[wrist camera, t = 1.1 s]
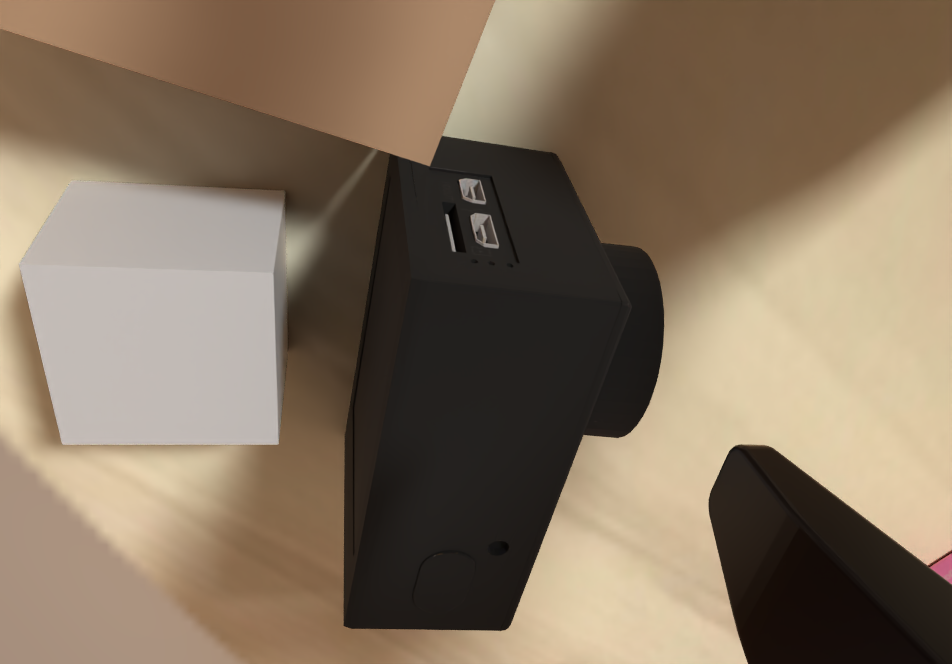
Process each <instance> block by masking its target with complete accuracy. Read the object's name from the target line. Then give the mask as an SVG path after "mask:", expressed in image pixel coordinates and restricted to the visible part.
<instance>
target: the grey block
mask: <svg viewBox="0 0 952 664" xmlns="http://www.w3.org/2000/svg"><path fill="white" fill-rule="evenodd" d="M19 267H20V271H21V275H22V279H23V284H24V288H25V292H26V296H27V300H28V304H29V309H30V313H31V317H32V321H33V325H34V329H35V333H36V338H37V342H38V346H39V350H40V354H41V358H42V363H43V367H44V371H45V375H46V379H47V383H48V388H49V392H50V396H51V400H52V404H53V408H54V413H55V417H56V421H57V425H58V429H59V433H60V437H61V442H62V445H279V436H280V426H281V416H282V406H283V396H284V386H285V376H286V366H287V356H288V316H287V264H286V212H285V191H281V190H261V189H241V188H221V187H201V186H181V185H161V184H141V183H121V182H101V181H81V180H71V181H70V183H69V184H68V186H67V188H66V189H65V191H64V192H63V194H62V196H61V197H60V199H59V200H58V202H57V204H56V205H55V207H54V208H53V210H52V212H51V213H50V215H49V217H48V218H47V220H46V221H45V223H44V225H43V226H42V228H41V229H40V231H39V233H38V234H37V236H36V237H35V239H34V241H33V242H32V244H31V245H30V247H29V249H28V250H27V252H26V253H25V255H24V257H23V258H22V260H21V262H20V263H19Z"/></svg>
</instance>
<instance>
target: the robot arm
mask: <svg viewBox="0 0 952 664" xmlns="http://www.w3.org/2000/svg"><path fill="white" fill-rule="evenodd" d="M709 515H710V519H711V523H712V528H713V532H714V536H715V540H716V545H717V549H718V553H719V557H720V562H721V566H722V570H723V574H724V579H725V583H726V587H727V591H728V595H729V600H730V604H731V608H732V612H733V616H734V620H735V624H736V628H737V631H738V635H739V638H740V641H741V644H742V647H743V650H744V653H745V656H746V659H747V662H748V664H952V584H951V583H949V582H948V581H947V580H945V579H944V578H943V577H942V576H940V575H939V574H938V573H936V572H935V571H934V570H932V569H931V568H930V567H928V566H927V565H926V564H924V563H923V562H922V561H921V560H919V559H918V558H917V557H915V556H914V555H913V554H911V553H910V552H909V551H907V550H906V549H905V548H903V547H902V546H901V545H900V544H898V543H897V542H896V541H894V540H893V539H892V538H890V537H889V536H888V535H886V534H885V533H884V532H882V531H881V530H880V529H879V528H877V527H876V526H875V525H873V524H872V523H871V522H869V521H868V520H867V519H865V518H864V517H863V516H862V515H860V514H859V513H858V512H856V511H855V510H854V509H852V508H851V507H850V506H848V505H847V504H846V503H844V502H843V501H842V500H841V499H839V498H838V497H837V496H835V495H834V494H833V493H831V492H830V491H829V490H827V489H826V488H825V487H823V486H822V485H821V484H820V483H818V482H817V481H816V480H814V479H813V478H812V477H810V476H809V475H808V474H806V473H805V472H804V471H802V470H801V469H800V468H799V467H797V466H796V465H795V464H793V463H792V462H791V461H789V460H788V459H787V458H785V457H784V456H783V455H781V454H780V453H779V452H778V451H776V450H775V449H773V448H772V447H769V446H765V445H736V446H734V447H733V448H732V449H731V450H730V451H729V453H728V455H727V457H726V459H725V461H724V464H723V466H722V468H721V470H720V473H719V475H718V477H717V479H716V481H715V484H714V486H713V488H712V490H711V493H710V497H709Z"/></svg>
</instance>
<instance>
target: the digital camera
mask: <svg viewBox="0 0 952 664" xmlns="http://www.w3.org/2000/svg"><path fill="white" fill-rule="evenodd" d="M411 164H412V166H411ZM412 171H413V172H412ZM413 178H414V179H413ZM415 191H416V192H415ZM663 337H664V308H663V298H662V292H661V286H660V281H659V278H658V275H657V271H656V269H655V267H654V265H653V262H652V260H651V259H650V257H649V256H648V255H647V253H645V252H644V251H643V250H642V249H640V248H637V247H632V246H623V245H614V244H605V243H601V242H600V240H599V238H598V236H597V234H596V232H595V230H594V228H593V226H592V224H591V222H590V220H589V218H588V216H587V214H586V212H585V210H584V208H583V206H582V204H581V202H580V200H579V198H578V196H577V193H576V191H575V189H574V187H573V185H572V183H571V181H570V179H569V177H568V175H567V173H566V171H565V169H564V167H563V165H562V163H561V161H560V160H559V158H558V156H557V155H556V154H554V153H551V152H550V153H549V152H542V151H536V150H529V149H523V148H516V147H510V146H503V145H497V144H490V143H484V142H477V141H471V140H464V139H458V138H451V137H445V136H442V137H441V139H440V142H439V144H438V147H437V149H436V152H435V154H434V157H433V159H432V162H431V164H430V166H427V165H424V164H421V163H418V162H415V161H412V160H409V159H406V158H402V157H399V156H396V155H393V154H390V157H389V164H388V170H387V176H386V182H385V189H384V195H383V201H382V207H381V214H380V220H379V226H378V232H377V239H376V245H375V251H374V257H373V264H372V270H371V276H370V282H369V289H368V295H367V301H366V308H365V314H364V320H363V326H362V333H361V339H360V345H359V351H358V358H357V364H356V370H355V376H354V383H353V389H352V395H351V401H350V408H349V414H348V420H347V426H346V433H345V479H344V626H345V627H348V628H351V629H427V630H494V631H502V630H506V629H507V628H509V626H510V625H511V622H512V620H513V617H514V615H515V612H516V609H517V607H518V604H519V602H520V599H521V596H522V594H523V591H524V588H525V586H526V583H527V581H528V578H529V575H530V573H531V570H532V568H533V565H534V562H535V560H536V557H537V555H538V552H539V549H540V547H541V544H542V541H543V539H544V536H545V534H546V531H547V528H548V526H549V523H550V521H551V518H552V515H553V513H554V510H555V507H556V505H557V502H558V500H559V497H560V494H561V492H562V489H563V487H564V484H565V481H566V479H567V476H568V474H569V471H570V468H571V466H572V463H573V460H574V458H575V455H576V453H577V450H578V447H579V445H580V442H581V440H582V437H583V435H591V436H602V437H613V438H619V437H623V436H625V435H627V434H628V433H630V432H631V431H632V430H633V429H634V428H635V427H636V426H637V424H638V423H639V421H640V420H641V418H642V417H643V415H644V413H645V411H646V409H647V407H648V405H649V403H650V400H651V397H652V394H653V392H654V388H655V385H656V382H657V378H658V374H659V369H660V363H661V357H662V349H663Z"/></svg>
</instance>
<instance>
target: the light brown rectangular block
mask: <svg viewBox="0 0 952 664" xmlns="http://www.w3.org/2000/svg"><path fill="white" fill-rule="evenodd" d="M494 2H495V0H0V29H3V30H6V31H9V32H12V33H15V34H18V35H22V36H25V37H28V38H31V39H34V40H37V41H40V42H43V43H46V44H50V45H53V46H56V47H59V48H62V49H65V50H68V51H71V52H75V53H78V54H81V55H84V56H87V57H90V58H93V59H96V60H100V61H103V62H106V63H109V64H112V65H115V66H118V67H121V68H125V69H128V70H131V71H134V72H137V73H140V74H143V75H146V76H150V77H153V78H156V79H159V80H162V81H165V82H168V83H171V84H175V85H178V86H181V87H184V88H187V89H190V90H193V91H196V92H199V93H203V94H206V95H209V96H212V97H215V98H218V99H221V100H224V101H228V102H231V103H234V104H237V105H240V106H243V107H246V108H249V109H253V110H256V111H259V112H262V113H265V114H268V115H271V116H274V117H278V118H281V119H284V120H287V121H290V122H293V123H296V124H299V125H303V126H306V127H309V128H312V129H315V130H318V131H321V132H324V133H328V134H331V135H334V136H337V137H340V138H343V139H346V140H349V141H352V142H356V143H359V144H362V145H365V146H368V147H371V148H374V149H377V150H381V151H384V152H387V153H390V154H393V155H396V156H399V157H402V158H406V159H409V160H412V161H415V162H418V163H421V164H424V165H427V166H430V164H431V162H432V159H433V157H434V154H435V152H436V149H437V147H438V144H439V142H440V139H441V137H442V134H443V131H444V129H445V126H446V124H447V121H448V119H449V116H450V114H451V111H452V109H453V106H454V104H455V101H456V98H457V96H458V93H459V91H460V88H461V86H462V83H463V81H464V78H465V76H466V73H467V71H468V68H469V65H470V63H471V60H472V58H473V55H474V53H475V50H476V48H477V45H478V43H479V40H480V37H481V35H482V32H483V30H484V27H485V25H486V22H487V20H488V17H489V15H490V12H491V10H492V7H493V4H494Z"/></svg>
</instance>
